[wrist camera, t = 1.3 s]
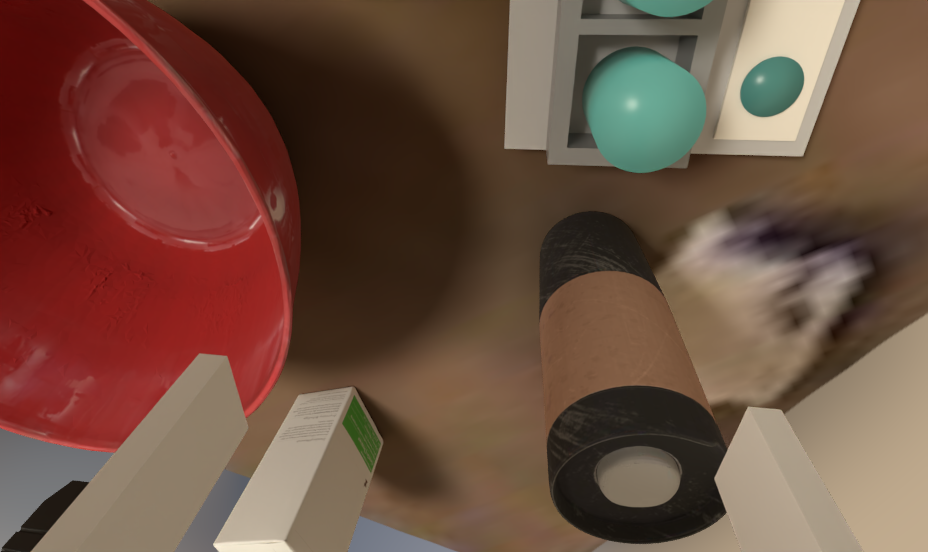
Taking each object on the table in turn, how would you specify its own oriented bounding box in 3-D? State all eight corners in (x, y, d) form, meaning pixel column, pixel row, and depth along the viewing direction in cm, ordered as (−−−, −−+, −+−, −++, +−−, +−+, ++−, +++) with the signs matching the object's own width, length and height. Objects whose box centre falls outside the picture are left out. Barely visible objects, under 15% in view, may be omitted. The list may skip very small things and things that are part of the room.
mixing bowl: (235, -184, 26) (-60, -336, 13) (430, 269, 39) (383, 419, 26) (-115, 11, 33) (-533, 42, 20) (152, 337, 46) (8, 482, 33)
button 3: (588, 45, 25) (601, 62, 21) (685, 46, 25) (719, 63, 20) (577, 139, 28) (586, 171, 23) (665, 142, 27) (691, 174, 23)
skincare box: (385, 440, 51) (337, 605, 38) (328, 447, 52) (263, 608, 39) (353, 382, 47) (287, 544, 34) (292, 391, 48) (206, 550, 35)
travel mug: (526, 286, 39) (528, 528, 22) (550, 198, 35) (575, 413, 18) (621, 303, 39) (695, 559, 22) (656, 217, 35) (779, 452, 18)
